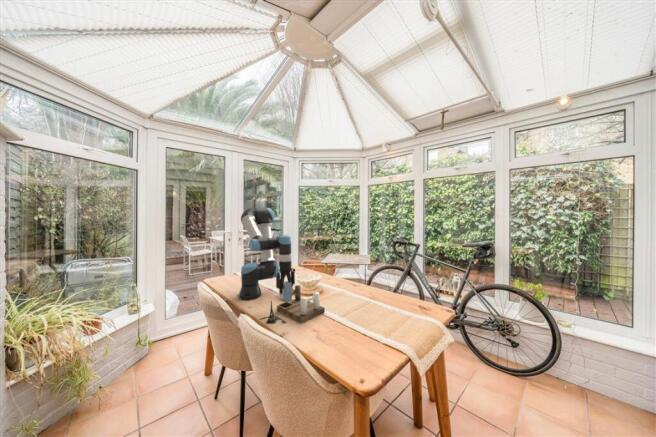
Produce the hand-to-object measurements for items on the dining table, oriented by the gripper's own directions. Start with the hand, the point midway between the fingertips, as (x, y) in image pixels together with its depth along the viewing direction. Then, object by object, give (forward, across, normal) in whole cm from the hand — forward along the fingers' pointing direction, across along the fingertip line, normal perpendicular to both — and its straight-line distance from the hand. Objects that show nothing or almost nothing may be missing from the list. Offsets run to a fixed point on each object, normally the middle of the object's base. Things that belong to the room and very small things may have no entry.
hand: (286, 297), depth 148 cm
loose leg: (+2, 0, 0) cm, 2 cm away
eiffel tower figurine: (+9, +14, +6) cm, 17 cm away
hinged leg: (+5, -5, +17) cm, 18 cm away
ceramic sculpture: (+8, -15, -19) cm, 26 cm away
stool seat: (+8, -5, +8) cm, 12 cm away
